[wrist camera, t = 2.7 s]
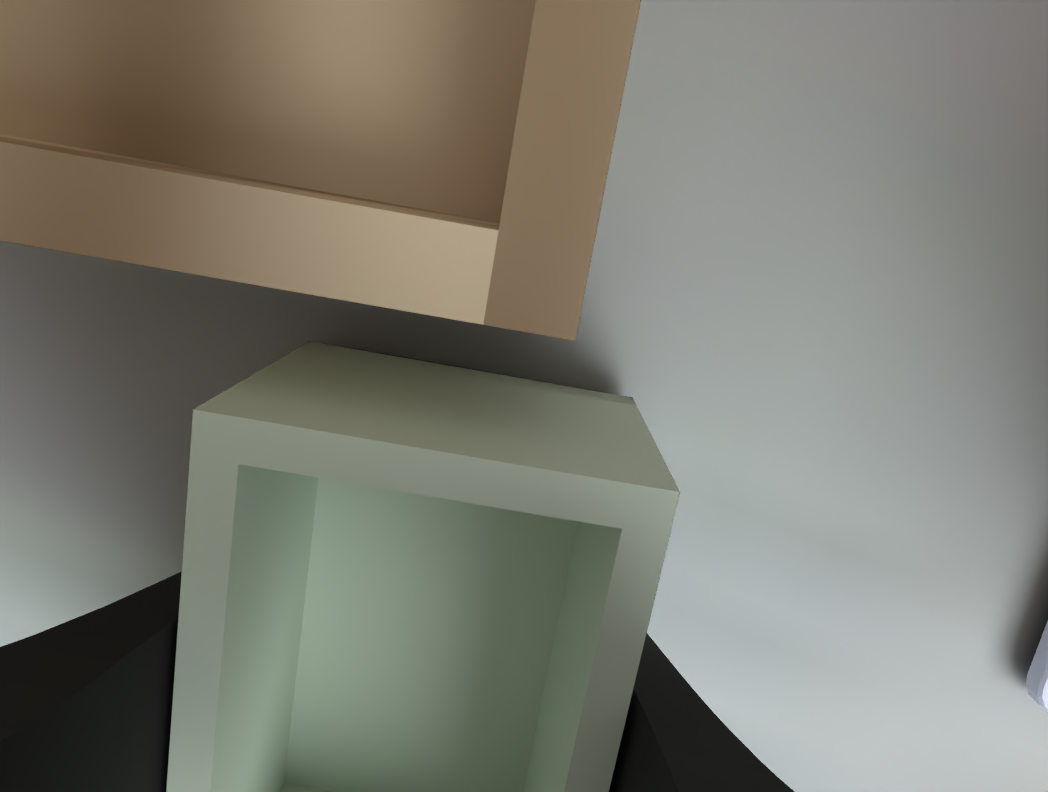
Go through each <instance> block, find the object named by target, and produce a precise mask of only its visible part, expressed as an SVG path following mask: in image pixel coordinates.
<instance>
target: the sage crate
mask: <svg viewBox="0 0 1048 792" xmlns="http://www.w3.org/2000/svg"><path fill="white" fill-rule="evenodd" d="M679 495H680V491H679V489H678V487H677V485H676V483H675V481H674V479H673V477H672V475H671V473H670V471H669V469H668V467H667V465H666V463H665V461H664V459H663V457H662V455H661V453H660V451H659V449H658V447H657V445H656V443H655V441H654V439H653V437H652V436H651V434H650V432H649V430H648V428H647V426H646V424H645V422H644V420H643V418H642V416H641V414H640V412H639V410H638V408H637V406H636V404H635V402H634V400H633V398H632V397H627V396H621V395H615V394H609V393H603V392H598V391H592V390H586V389H580V388H575V387H569V386H563V385H557V384H551V383H546V382H540V381H534V380H528V379H523V378H517V377H511V376H505V375H500V374H494V373H488V372H482V371H476V370H471V369H465V368H459V367H453V366H448V365H442V364H436V363H430V362H424V361H419V360H413V359H407V358H401V357H396V356H390V355H384V354H378V353H373V352H367V351H361V350H355V349H349V348H344V347H338V346H332V345H326V344H321V343H315V342H307V343H306V344H304V345H302V346H300V347H299V348H297V349H295V350H294V351H292V352H290V353H288V354H287V355H285V356H283V357H282V358H280V359H278V360H277V361H275V362H273V363H271V364H270V365H268V366H266V367H265V368H263V369H261V370H259V371H258V372H256V373H254V374H253V375H251V376H249V377H248V378H246V379H244V380H242V381H241V382H239V383H237V384H236V385H234V386H232V387H230V388H229V389H227V390H225V391H224V392H222V393H220V394H218V395H217V396H215V397H213V398H212V399H210V400H208V401H207V402H205V403H203V404H201V405H200V406H198V407H196V408H195V409H193V418H192V432H191V446H190V460H189V475H188V489H187V503H186V517H185V532H184V546H183V560H182V575H181V589H180V603H179V617H178V632H177V646H176V660H175V675H174V689H173V703H172V717H171V732H170V746H169V760H168V774H167V789H166V792H609V789H610V784H611V780H612V776H613V772H614V768H615V763H616V759H617V755H618V751H619V747H620V742H621V738H622V734H623V730H624V726H625V721H626V717H627V713H628V709H629V705H630V700H631V696H632V692H633V688H634V684H635V679H636V675H637V671H638V667H639V663H640V658H641V654H642V650H643V646H644V642H645V637H646V633H647V629H648V625H649V621H650V616H651V612H652V608H653V604H654V600H655V595H656V591H657V587H658V583H659V579H660V574H661V570H662V566H663V562H664V558H665V553H666V549H667V545H668V541H669V537H670V532H671V528H672V524H673V520H674V516H675V511H676V507H677V503H678V499H679Z"/></svg>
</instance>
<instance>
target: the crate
mask: <svg viewBox="0 0 1048 792" xmlns="http://www.w3.org/2000/svg"><path fill="white" fill-rule="evenodd" d="M640 2H641V0H0V241H6V242H12V243H17V244H23V245H29V246H35V247H40V248H46V249H52V250H58V251H63V252H69V253H75V254H81V255H86V256H92V257H98V258H103V259H109V260H115V261H121V262H126V263H132V264H138V265H144V266H149V267H155V268H161V269H166V270H172V271H178V272H184V273H189V274H195V275H201V276H207V277H212V278H218V279H224V280H230V281H235V282H241V283H247V284H252V285H258V286H264V287H270V288H275V289H281V290H287V291H293V292H298V293H304V294H310V295H315V296H321V297H327V298H333V299H338V300H344V301H350V302H356V303H361V304H367V305H373V306H379V307H384V308H390V309H396V310H401V311H407V312H413V313H419V314H424V315H430V316H436V317H442V318H447V319H453V320H459V321H464V322H470V323H476V324H482V325H487V326H493V327H499V328H505V329H510V330H516V331H522V332H527V333H533V334H539V335H545V336H550V337H556V338H562V339H568V340H573V341H575V340H576V335H577V329H578V324H579V319H580V314H581V309H582V303H583V298H584V293H585V288H586V283H587V277H588V272H589V267H590V262H591V257H592V251H593V246H594V241H595V236H596V231H597V225H598V220H599V215H600V210H601V205H602V199H603V194H604V189H605V184H606V179H607V174H608V168H609V163H610V158H611V153H612V148H613V142H614V137H615V132H616V127H617V122H618V116H619V111H620V106H621V101H622V96H623V90H624V85H625V80H626V75H627V70H628V64H629V59H630V54H631V49H632V44H633V39H634V33H635V28H636V23H637V18H638V13H639V7H640Z"/></svg>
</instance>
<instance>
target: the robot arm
mask: <svg viewBox="0 0 1048 792" xmlns="http://www.w3.org/2000/svg"><path fill="white" fill-rule="evenodd" d="M181 575H182V572H180V573H178V574H175V575H173V576H171V577H169V578H167V579H165V580H162V581H160V582H158V583H156V584H154V585H151V586H149V587H147V588H145V589H143V590H140V591H138V592H136V593H134V594H132V595H129V596H127V597H125V598H123V599H120V600H118V601H116V602H114V603H112V604H109V605H107V606H105V607H102V608H100V609H97V610H95V611H93V612H90V613H88V614H85V615H83V616H80V617H78V618H75V619H73V620H70V621H68V622H65V623H63V624H60V625H58V626H55V627H53V628H50V629H48V630H46V631H43V632H41V633H38V634H36V635H33V636H30V637H27V638H25V639H22V640H19V641H17V642H14V643H11V644H8V645H5V646H2V647H0V792H166V789H167V774H168V760H169V746H170V732H171V717H172V703H173V689H174V675H175V660H176V646H177V632H178V617H179V603H180V589H181ZM1026 688H1027V691H1028V694H1029V695H1030V696H1031V697H1032V698H1033V699H1034V700H1035V701H1036V702H1037V703H1038V704H1039V705H1040V706H1041V707H1042V708H1043V709H1044V710H1045V711H1046V712H1047V713H1048V621H1047V624H1046V626H1045V629H1044V632H1043V634H1042V637H1041V640H1040V642H1039V645H1038V648H1037V650H1036V653H1035V655H1034V658H1033V661H1032V663H1031V666H1030V669H1029V671H1028V674H1027V679H1026ZM609 792H794V791H793V790H792V789H791V788H789V787H788V786H787V785H786V784H785V783H784V782H783V781H781V780H780V779H779V778H778V777H777V776H776V775H775V774H774V773H772V772H771V771H770V770H769V769H768V768H767V767H766V766H765V765H764V764H763V763H762V762H761V761H760V760H759V759H758V758H757V757H756V756H755V755H754V754H753V753H752V752H751V751H750V750H749V749H748V748H747V747H746V746H745V745H744V744H743V743H742V742H741V741H740V740H739V739H738V738H737V737H736V736H735V735H734V734H733V733H732V732H731V731H730V730H729V729H728V728H727V727H726V726H725V725H724V723H723V722H722V721H721V720H720V719H719V718H718V717H717V716H716V715H715V714H714V713H713V712H712V710H711V709H710V708H709V707H708V706H707V705H706V704H705V703H704V701H703V700H702V699H701V698H700V697H699V696H698V694H697V693H696V692H695V691H694V690H693V689H692V688H691V686H690V685H689V684H688V683H687V682H686V680H685V679H684V678H683V677H682V676H681V674H680V673H679V672H678V671H677V670H676V668H675V667H674V666H673V665H672V663H671V662H670V661H669V660H668V659H667V657H666V656H665V655H664V654H663V652H662V651H661V650H660V649H659V647H658V646H657V645H656V644H655V643H654V641H653V640H652V639H651V638H650V637H649V635H648V634H647V633H646V637H645V642H644V646H643V650H642V654H641V658H640V663H639V667H638V671H637V675H636V679H635V684H634V688H633V692H632V696H631V700H630V705H629V709H628V713H627V717H626V721H625V726H624V730H623V734H622V738H621V742H620V747H619V751H618V755H617V759H616V763H615V768H614V772H613V776H612V780H611V784H610V789H609Z"/></svg>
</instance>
